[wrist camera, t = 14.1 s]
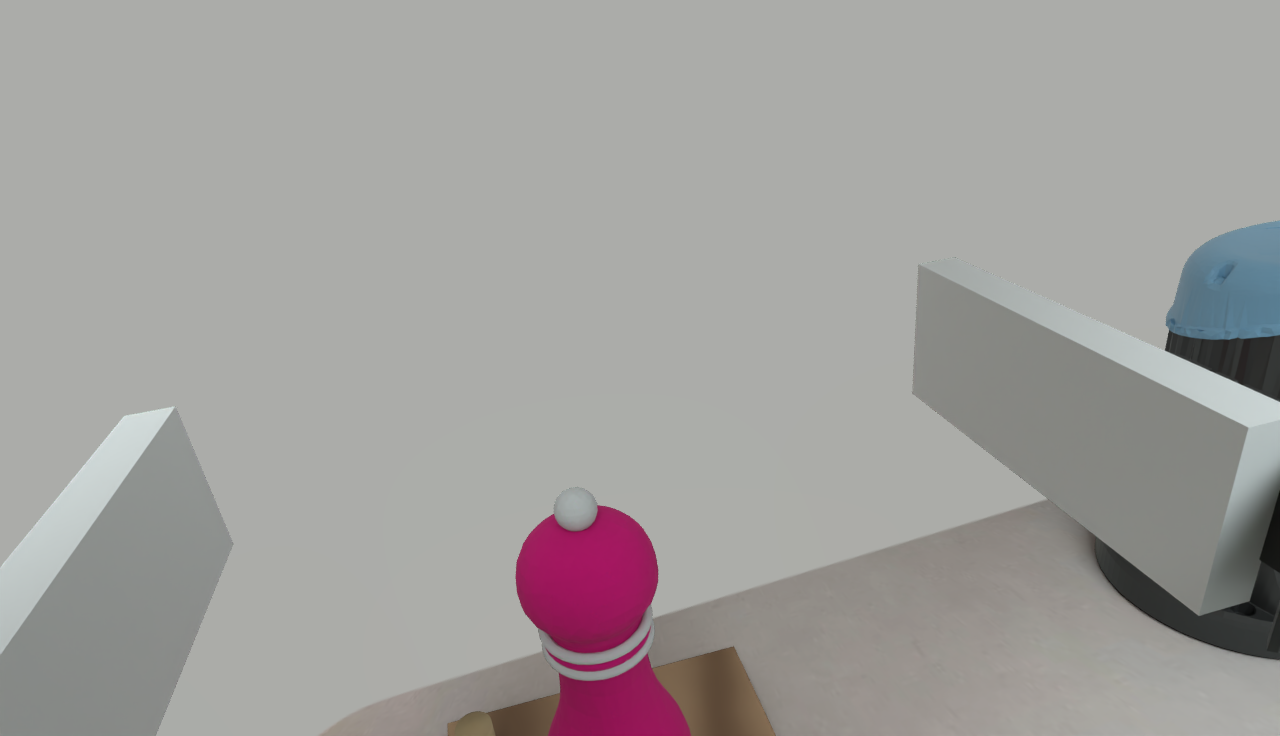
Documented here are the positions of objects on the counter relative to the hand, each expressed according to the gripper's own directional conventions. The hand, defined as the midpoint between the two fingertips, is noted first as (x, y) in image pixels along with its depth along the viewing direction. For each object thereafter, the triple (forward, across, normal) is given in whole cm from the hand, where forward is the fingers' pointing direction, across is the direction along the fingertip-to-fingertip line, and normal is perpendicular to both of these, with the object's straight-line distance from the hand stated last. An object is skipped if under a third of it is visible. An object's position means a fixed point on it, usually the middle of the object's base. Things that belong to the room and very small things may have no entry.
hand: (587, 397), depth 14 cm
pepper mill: (+14, 0, -31) cm, 34 cm away
